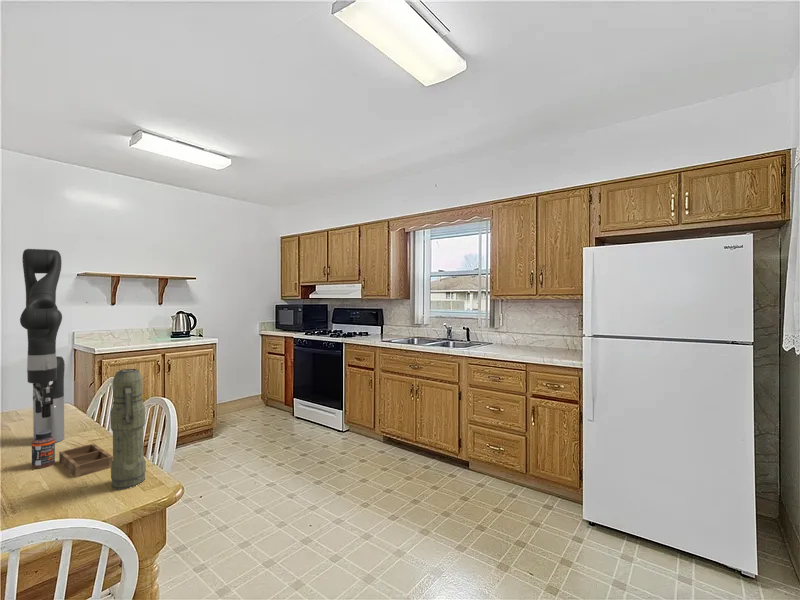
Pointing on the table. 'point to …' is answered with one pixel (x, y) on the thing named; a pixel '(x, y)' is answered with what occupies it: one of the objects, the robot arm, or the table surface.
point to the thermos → (127, 430)
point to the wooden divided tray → (85, 460)
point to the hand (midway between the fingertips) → (42, 414)
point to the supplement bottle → (43, 449)
